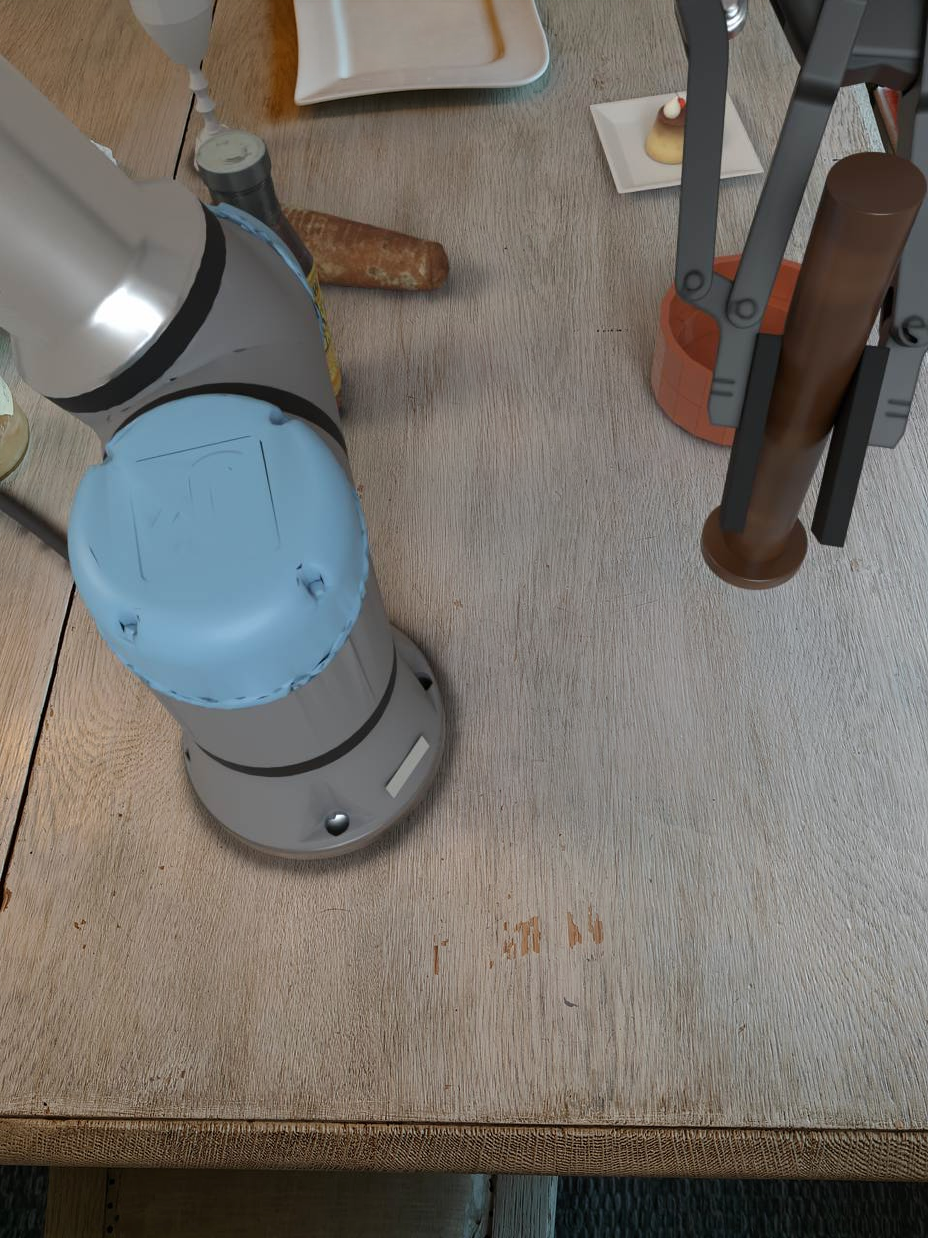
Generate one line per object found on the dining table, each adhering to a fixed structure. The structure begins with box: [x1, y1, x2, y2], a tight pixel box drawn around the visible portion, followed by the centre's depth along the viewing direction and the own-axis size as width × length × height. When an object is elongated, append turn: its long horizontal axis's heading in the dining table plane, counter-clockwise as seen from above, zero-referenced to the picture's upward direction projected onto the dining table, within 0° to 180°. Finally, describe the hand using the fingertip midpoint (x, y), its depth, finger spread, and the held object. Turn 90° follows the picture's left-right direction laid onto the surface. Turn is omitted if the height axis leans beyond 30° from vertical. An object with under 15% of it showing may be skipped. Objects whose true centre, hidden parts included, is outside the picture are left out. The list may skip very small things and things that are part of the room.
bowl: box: [650, 252, 802, 447], centre depth 65 cm, size 12×12×6 cm
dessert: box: [589, 90, 765, 195], centre depth 79 cm, size 12×12×5 cm
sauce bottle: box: [196, 129, 343, 408], centre depth 62 cm, size 7×6×20 cm
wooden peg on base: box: [699, 151, 927, 591], centre depth 34 cm, size 4×4×18 cm
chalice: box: [128, 0, 235, 172], centre depth 77 cm, size 7×7×18 cm
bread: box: [210, 200, 450, 292], centre depth 74 cm, size 6×19×6 cm, turn 74°
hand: (778, 530), depth 34 cm, fingers closed on wooden peg on base, 3 cm apart
